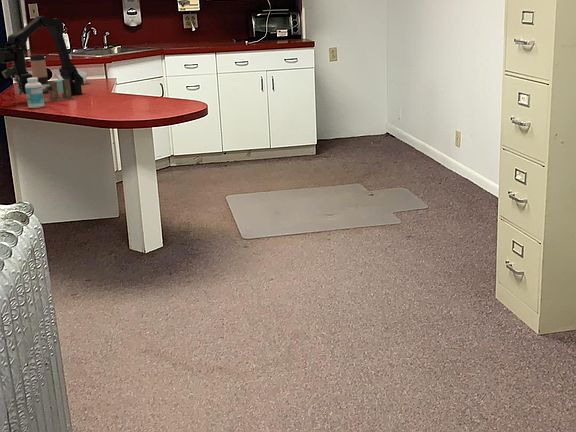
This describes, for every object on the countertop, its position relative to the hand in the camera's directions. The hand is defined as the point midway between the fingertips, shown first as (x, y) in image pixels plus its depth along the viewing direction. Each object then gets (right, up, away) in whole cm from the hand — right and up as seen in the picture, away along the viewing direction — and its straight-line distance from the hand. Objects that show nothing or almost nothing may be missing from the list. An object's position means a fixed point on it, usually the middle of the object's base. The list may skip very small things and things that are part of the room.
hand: (24, 93), depth 367 cm
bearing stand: (+11, -2, +8) cm, 14 cm away
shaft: (+6, +1, +4) cm, 7 cm away
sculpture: (0, +19, +82) cm, 84 cm away
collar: (+14, +2, +9) cm, 17 cm away
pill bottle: (+11, -9, -15) cm, 21 cm away
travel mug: (-4, +7, +40) cm, 41 cm away
